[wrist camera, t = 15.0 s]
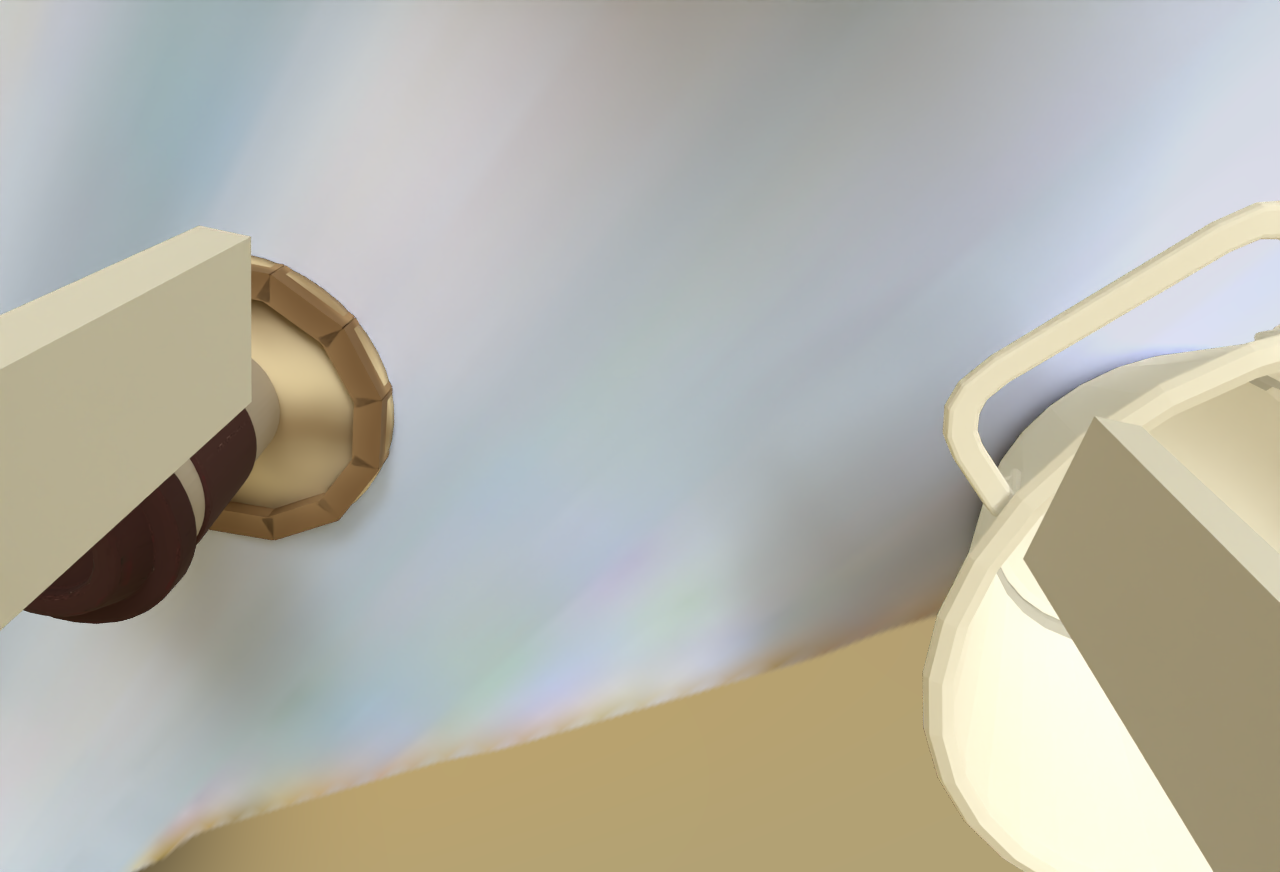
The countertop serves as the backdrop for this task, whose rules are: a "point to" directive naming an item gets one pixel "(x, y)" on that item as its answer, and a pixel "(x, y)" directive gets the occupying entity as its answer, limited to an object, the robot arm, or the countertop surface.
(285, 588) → the countertop surface
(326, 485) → the round tray
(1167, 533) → the robot arm
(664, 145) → the countertop surface
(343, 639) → the countertop surface
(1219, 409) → the pot
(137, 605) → the coffee cup
